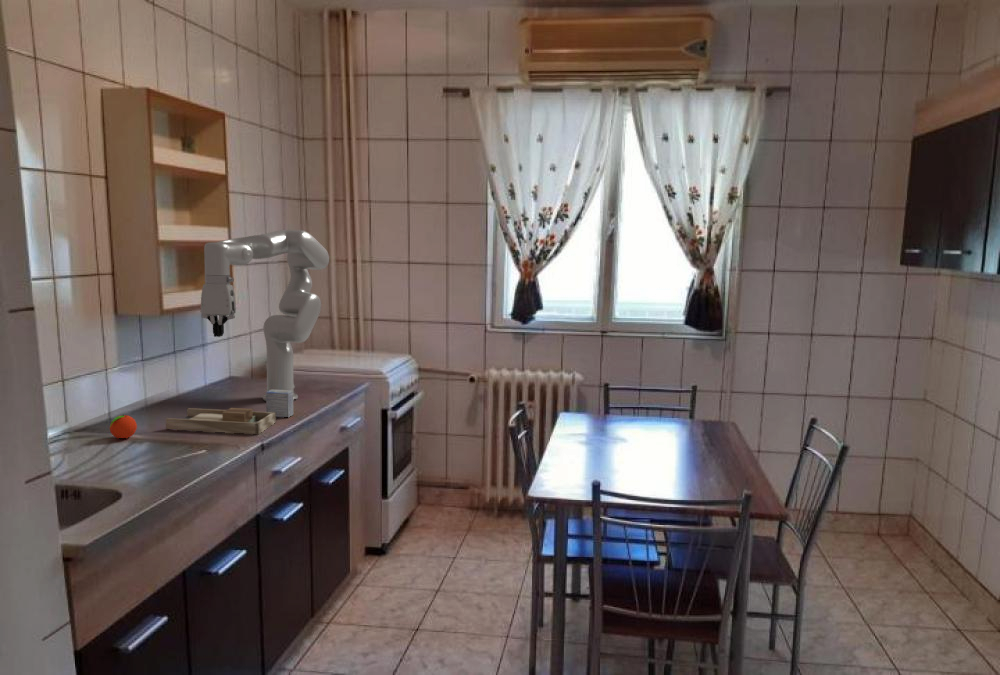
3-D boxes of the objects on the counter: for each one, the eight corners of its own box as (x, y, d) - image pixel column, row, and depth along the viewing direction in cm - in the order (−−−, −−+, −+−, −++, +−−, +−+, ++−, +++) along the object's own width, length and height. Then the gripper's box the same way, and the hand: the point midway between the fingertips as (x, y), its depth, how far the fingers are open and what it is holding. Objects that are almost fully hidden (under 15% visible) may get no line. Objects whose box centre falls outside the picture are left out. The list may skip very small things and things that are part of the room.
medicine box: (293, 415, 231) (293, 390, 229) (288, 418, 226) (288, 393, 225) (271, 413, 231) (271, 389, 230) (265, 416, 227) (265, 391, 226)
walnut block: (231, 416, 216) (231, 407, 215) (252, 418, 215) (252, 408, 215) (222, 421, 210) (222, 412, 209) (244, 422, 209) (244, 413, 209)
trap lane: (189, 418, 221) (188, 408, 220) (275, 422, 220) (275, 412, 219) (166, 429, 207) (165, 418, 207) (258, 434, 206) (258, 423, 205)
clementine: (120, 444, 192) (119, 419, 191) (101, 441, 194) (100, 417, 193) (142, 436, 199) (141, 413, 198) (124, 434, 201) (123, 411, 200)
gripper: (244, 281, 223) (245, 335, 225) (200, 279, 223) (201, 333, 226) (234, 282, 215) (235, 338, 218) (189, 280, 216) (190, 336, 219)
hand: (218, 336), depth 222 cm, fingers closed
